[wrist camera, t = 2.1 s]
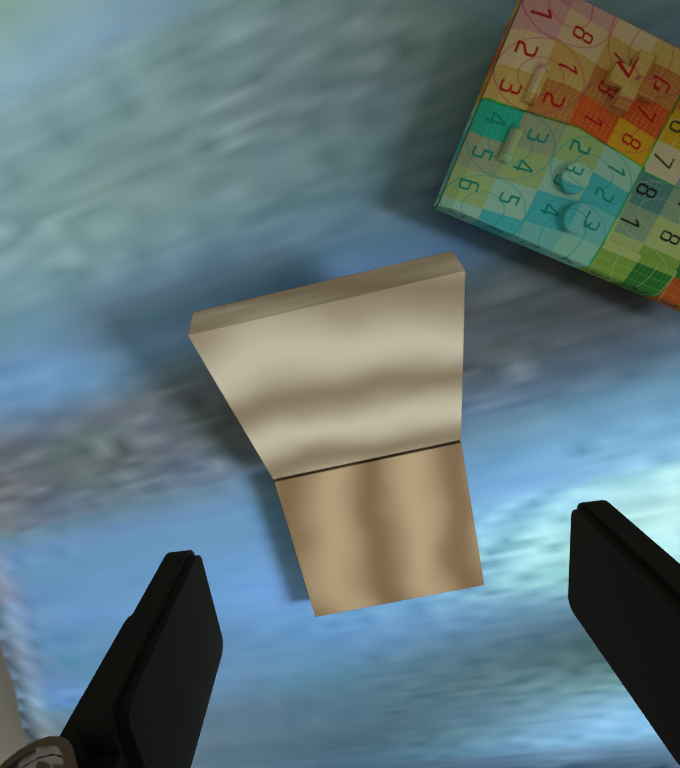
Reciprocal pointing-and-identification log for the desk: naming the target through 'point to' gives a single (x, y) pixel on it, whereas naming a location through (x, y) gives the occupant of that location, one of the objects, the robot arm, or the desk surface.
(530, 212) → the puzzle game
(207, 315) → the birch plank
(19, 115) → the desk surface
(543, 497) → the desk surface
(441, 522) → the oak floorboard
